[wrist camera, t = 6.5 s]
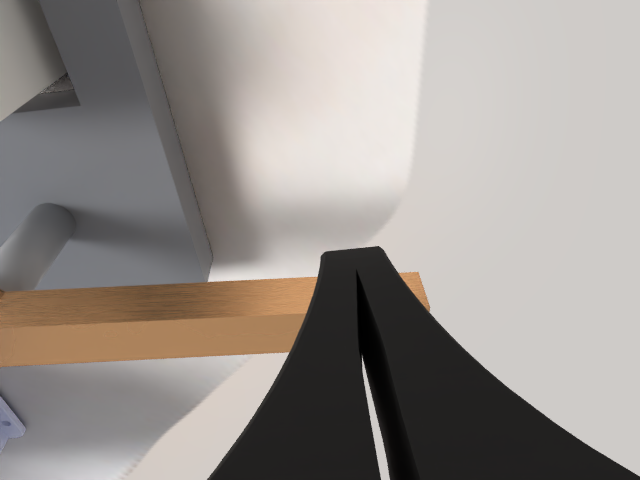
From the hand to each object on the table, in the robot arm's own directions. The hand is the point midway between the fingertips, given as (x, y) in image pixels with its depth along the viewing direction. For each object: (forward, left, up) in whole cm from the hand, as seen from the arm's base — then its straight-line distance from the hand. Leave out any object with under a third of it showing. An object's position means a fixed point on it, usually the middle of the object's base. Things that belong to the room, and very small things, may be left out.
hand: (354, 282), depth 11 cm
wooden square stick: (-2, +5, -2) cm, 6 cm away
